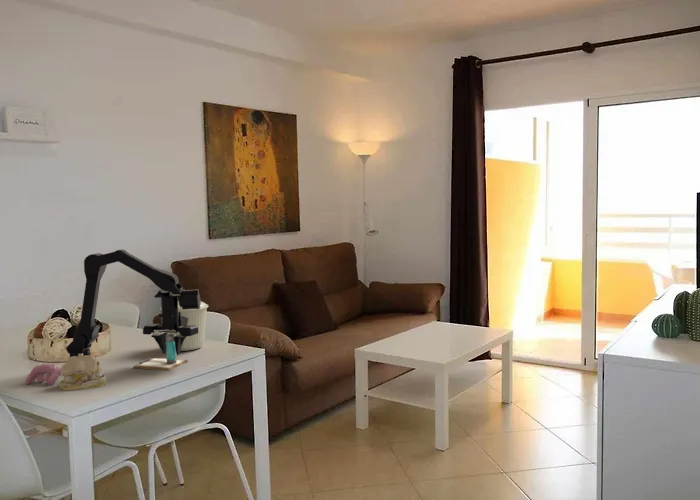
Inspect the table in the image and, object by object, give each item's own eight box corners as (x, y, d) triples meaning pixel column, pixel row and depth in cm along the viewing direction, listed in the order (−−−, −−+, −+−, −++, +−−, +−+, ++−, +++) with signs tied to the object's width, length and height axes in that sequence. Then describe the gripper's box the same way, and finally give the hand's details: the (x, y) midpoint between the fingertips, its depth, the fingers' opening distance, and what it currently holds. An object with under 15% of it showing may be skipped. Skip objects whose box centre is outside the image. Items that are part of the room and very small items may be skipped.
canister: (198, 341, 251) (196, 290, 249) (217, 348, 236) (215, 294, 235) (154, 347, 240) (152, 294, 238) (172, 356, 225) (170, 299, 224)
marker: (173, 364, 210) (172, 336, 209) (164, 363, 211) (163, 336, 210) (178, 361, 213) (177, 334, 213) (170, 361, 214) (169, 334, 214)
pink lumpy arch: (59, 388, 192) (65, 365, 195) (49, 385, 188) (55, 362, 191) (33, 386, 195) (39, 364, 197) (22, 383, 191) (29, 361, 193)
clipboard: (168, 370, 205) (168, 366, 205) (132, 368, 209) (132, 364, 209) (187, 361, 217) (187, 357, 217) (153, 359, 220) (153, 355, 220)
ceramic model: (53, 392, 183) (51, 359, 182) (62, 382, 194) (61, 350, 193) (103, 388, 186) (101, 356, 185) (109, 378, 197) (108, 348, 196)
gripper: (205, 306, 216) (207, 350, 217) (159, 305, 221) (161, 348, 222) (189, 312, 205) (190, 357, 206) (140, 310, 210) (142, 355, 211)
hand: (171, 354), depth 212 cm, fingers open, 5 cm apart
